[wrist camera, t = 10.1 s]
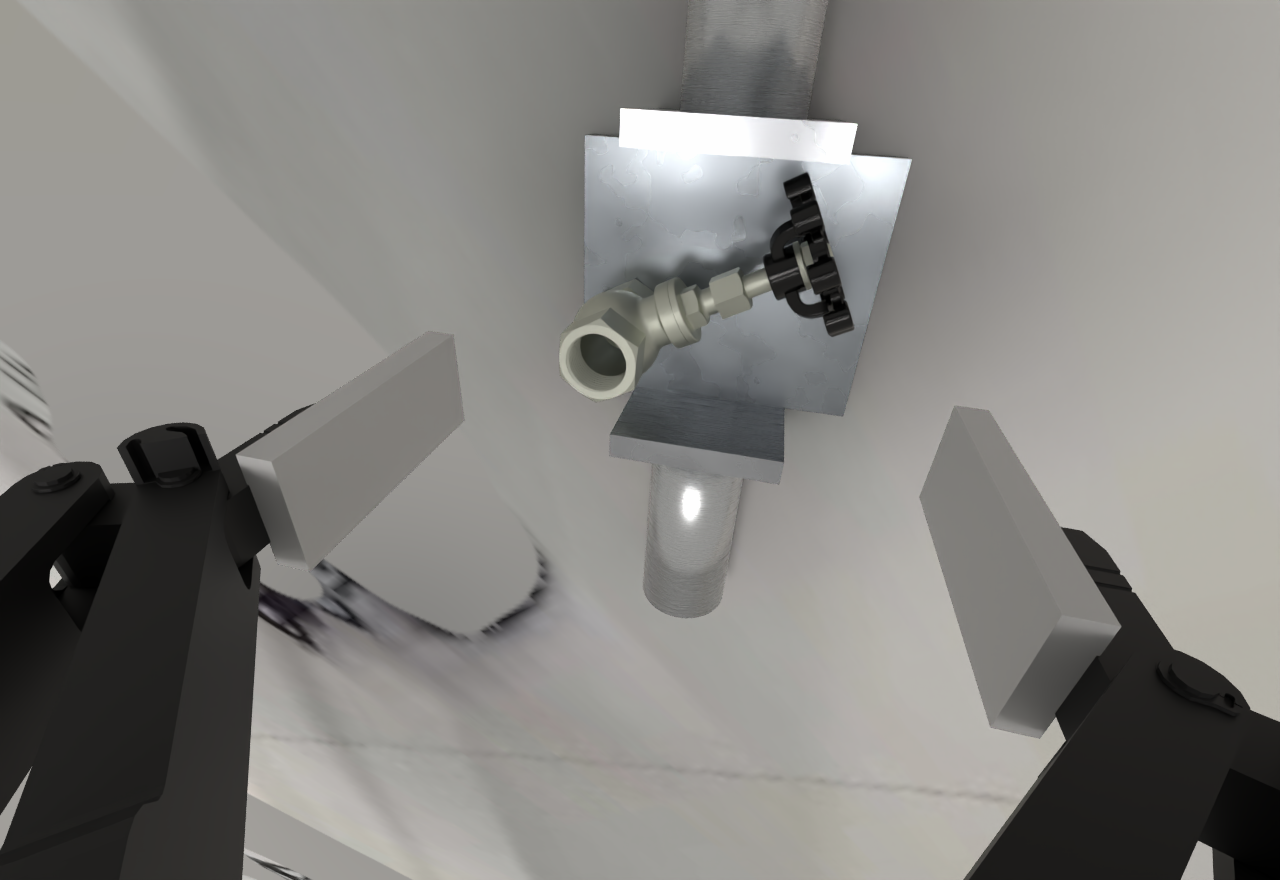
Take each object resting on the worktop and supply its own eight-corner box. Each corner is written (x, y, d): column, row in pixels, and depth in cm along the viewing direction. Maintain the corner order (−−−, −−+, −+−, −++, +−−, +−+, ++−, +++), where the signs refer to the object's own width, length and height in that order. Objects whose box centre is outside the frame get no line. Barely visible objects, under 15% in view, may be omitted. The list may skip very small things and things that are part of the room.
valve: (624, 383, 31) (847, 306, 27) (589, 442, 26) (863, 357, 21) (569, 270, 29) (805, 163, 24) (517, 308, 23) (811, 180, 19)
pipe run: (595, -271, 20) (523, -414, 15) (1025, -290, 18) (1131, -467, 12) (587, 540, 39) (554, 611, 34) (795, 581, 37) (797, 663, 31)
